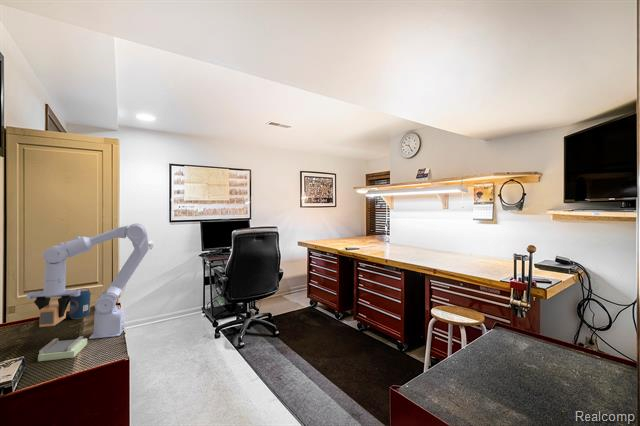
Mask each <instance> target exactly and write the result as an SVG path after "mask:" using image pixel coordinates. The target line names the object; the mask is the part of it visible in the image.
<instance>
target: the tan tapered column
mask: <svg viewBox="0 0 640 426" xmlns="http://www.w3.org/2000/svg"><path fill="white" fill-rule="evenodd" d="M66 316H67V309H66V310H65V314H64V316H63V317H61V318H59V304H58V301H57V302H55V301H54V302H52V303H51V302H50V303H49V305H47V306H46V307H44V308H42V309H40V310H39V328H42V327H54V326H56V325H58V324H59V323H60V322H62V321H63V320H64V319H66V318H67V317H66Z"/></svg>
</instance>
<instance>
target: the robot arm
mask: <svg viewBox="0 0 640 426" xmlns="http://www.w3.org/2000/svg"><path fill="white" fill-rule="evenodd" d="M118 238H119V239H126V238H128V239H129V241H130V242H131V243H132V247H133V251H132V252H131V254H130V255H129V256H128V258H127V259H126V261H125V263H124V264H123V265H122V267H121V268H120V270H119V272H118V273H117V275H116V276H115V278H114V279H113V281H112V282H111V283H110V285H109V286H108V288H107V289H106V290H105V291H103V292H102V293H101V294H100V295H99V296H98V298H97V300H96V301H95V303H94V308H95V310H94V315H93V316H94V319H93V320H94V321H93V333H92V334H90V336H89V337H88V339H89V340H91V339H99V338H111V337H118V336H121V334H122V333H123V332H124V330H125V329H126V326H125V325H126V311H125V309H119V307H118V306H117V305H116V304H117V301H118V299H119V296H120V295H121V293H122V290H123V289H124V288H125V286H126V285H127V283H128V282H129V280H130V279H131V277H132V276H133V274H134V272H135V271H136V269H137V268H138V266H139V265H140V263H141V262H142V260H143V259H144V257H145V256H146V255H147V253H148V251H149V238H148V233H147V230H146V228H145V226H143V224H140V223H132V224H130V225H124V226H123V225H122V226H120V227H115V228H113V229H110V230H108V231H104V232H102V233H99V234H97V235H95V236H91V237H88V236H79V235H78V236H76V237H74V239H72V240H68V241H65V242H62V241H61V242H59V243H58V245H54V246H51V247H49V248H47V249H46V250H45V251H43V255H42V258H43V260H44V265H45V266H44V271H43V272H44V275H43V290H42V291H30V292H27V293H26V300H31V299H35V300H34V301H33V303H34V304H35V305H36V306H37V308H38V310H39V311H40V309H42V308H44V307H46V306H47V305H49V304H50V303H51V302H50V301H51V298H57V302H58V304H59V318H61V317H63V316H64V314H65V310H66V311H67V307H68V305H70V300H71V299H72V297H73V296H79V295H80V291H81V290H76V289H66V285H67V283H66V282H67V258H73V257H75V256H79V255H81V254H84V253H86V252H89V251H92V248H93V246H95V245H99V244H101V243H105V242H107V241H110V240H113V239H114V240H115V239H118ZM123 328H124V329H123Z"/></svg>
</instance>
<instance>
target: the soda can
mask: <svg viewBox="0 0 640 426" xmlns="http://www.w3.org/2000/svg"><path fill="white" fill-rule="evenodd" d="M75 290H81V291H80V295H79V296H73V297H72V299H71V300H70V302H69V318H70V319H72V320H80V319H85V318H87V317H88V316H89V315H90V313H91V294H92V293H91V291H90V289H89V288H86V287H85V288H76V289H75ZM84 317H85V318H84Z"/></svg>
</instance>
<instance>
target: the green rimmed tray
mask: <svg viewBox="0 0 640 426" xmlns="http://www.w3.org/2000/svg"><path fill="white" fill-rule="evenodd" d="M86 345H88V338H86V337H85V338H84V335H79V337H77V338H76V339H67V340H59V338H54V339H52V340H51V341H50V342H48V343H47V344H45V345H44V347H42V348H41V349H40V350H39V351H38V352H39V354H38V355H37V362H45V361H55V360H63V359H71V358H75V357H76V356H77V355H78V354H79V353H80V352H81V351H82V350H83V349H84V348H85V347H86Z"/></svg>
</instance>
